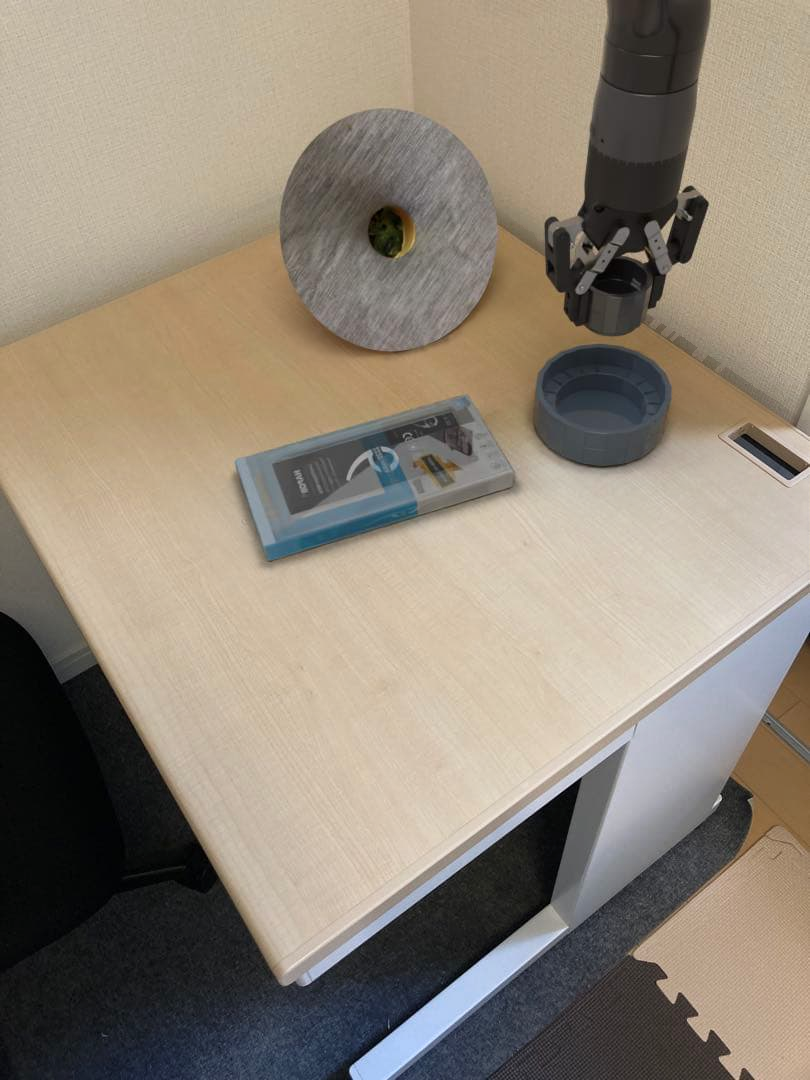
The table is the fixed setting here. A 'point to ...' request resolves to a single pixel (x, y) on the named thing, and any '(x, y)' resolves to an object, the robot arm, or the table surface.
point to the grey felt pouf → (388, 229)
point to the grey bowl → (601, 404)
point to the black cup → (619, 297)
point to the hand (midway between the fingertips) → (611, 311)
